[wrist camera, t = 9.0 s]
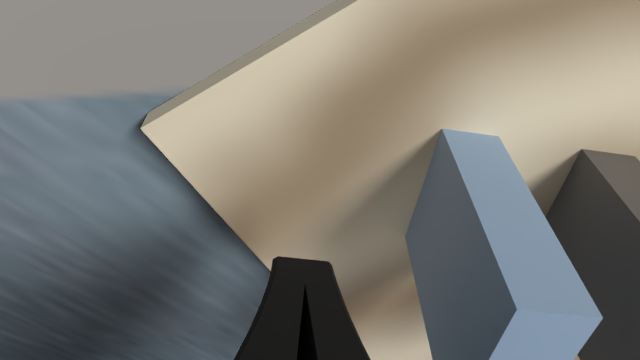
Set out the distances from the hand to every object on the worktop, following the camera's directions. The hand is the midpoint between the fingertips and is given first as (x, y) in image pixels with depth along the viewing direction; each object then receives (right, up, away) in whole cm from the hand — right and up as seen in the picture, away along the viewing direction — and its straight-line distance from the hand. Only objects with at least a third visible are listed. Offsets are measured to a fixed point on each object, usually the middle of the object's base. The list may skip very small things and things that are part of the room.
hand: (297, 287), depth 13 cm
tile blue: (+5, +2, +4) cm, 7 cm away
